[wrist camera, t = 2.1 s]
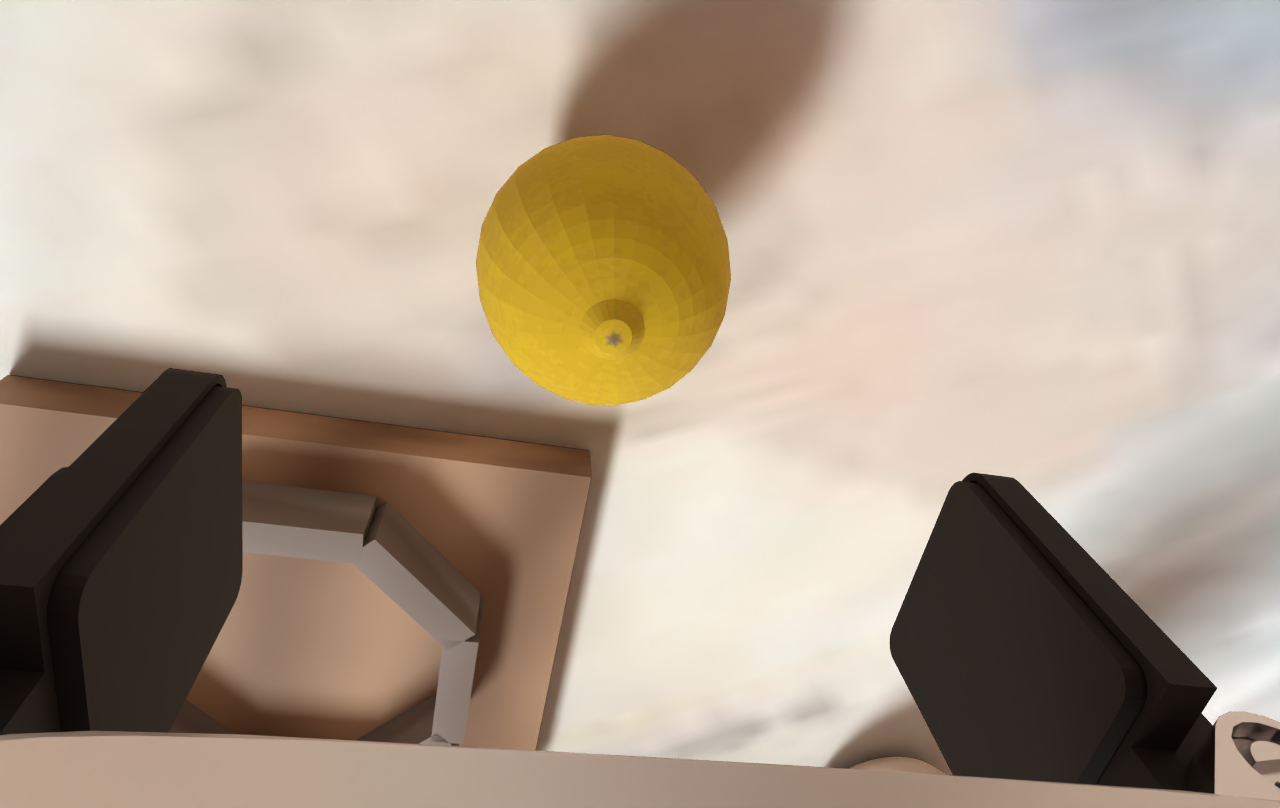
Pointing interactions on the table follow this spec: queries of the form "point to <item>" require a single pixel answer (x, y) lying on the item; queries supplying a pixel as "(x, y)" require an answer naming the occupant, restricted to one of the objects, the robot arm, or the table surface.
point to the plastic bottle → (898, 765)
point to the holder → (361, 571)
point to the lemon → (603, 270)
